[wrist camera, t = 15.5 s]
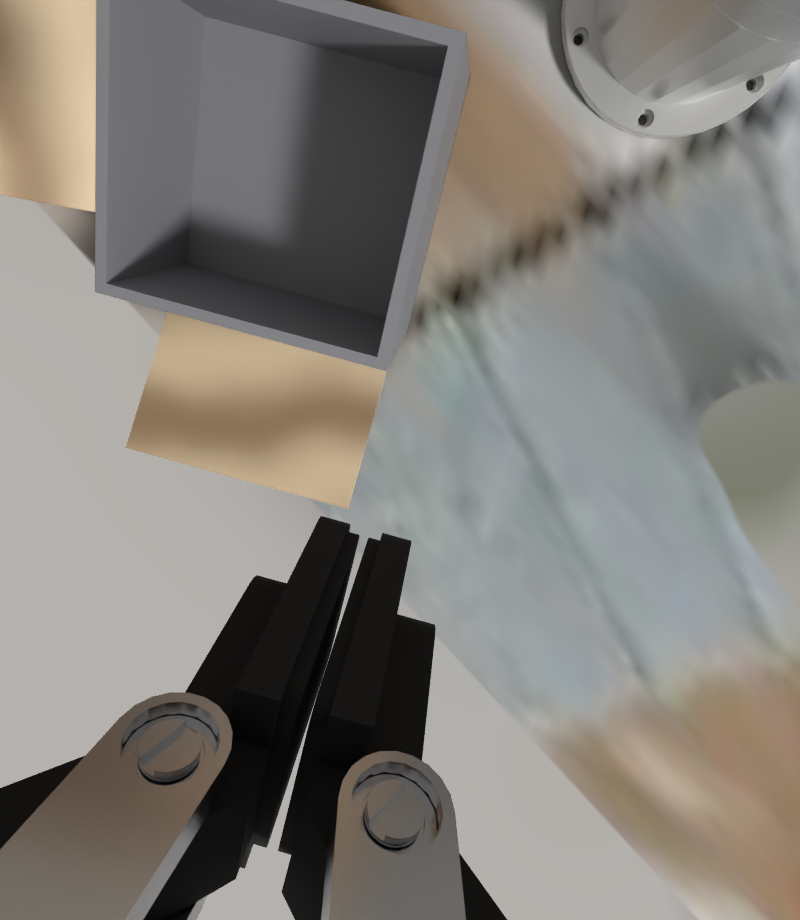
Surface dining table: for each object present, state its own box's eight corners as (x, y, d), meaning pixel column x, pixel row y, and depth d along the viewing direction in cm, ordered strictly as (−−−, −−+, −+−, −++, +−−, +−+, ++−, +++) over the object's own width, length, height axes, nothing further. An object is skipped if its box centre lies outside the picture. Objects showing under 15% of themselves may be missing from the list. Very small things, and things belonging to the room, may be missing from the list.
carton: (200, 4, 33) (96, -66, 24) (470, 75, 33) (466, 32, 24) (182, 269, 40) (95, 291, 31) (407, 330, 40) (385, 370, 31)
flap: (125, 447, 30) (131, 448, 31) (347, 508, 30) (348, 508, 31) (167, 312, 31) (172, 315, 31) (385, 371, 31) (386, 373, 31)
